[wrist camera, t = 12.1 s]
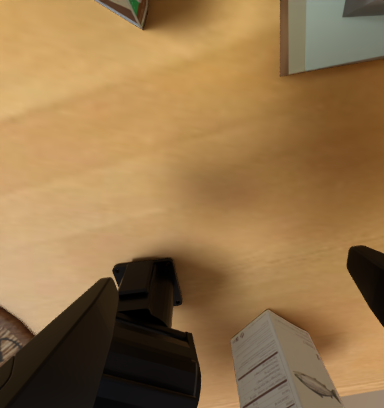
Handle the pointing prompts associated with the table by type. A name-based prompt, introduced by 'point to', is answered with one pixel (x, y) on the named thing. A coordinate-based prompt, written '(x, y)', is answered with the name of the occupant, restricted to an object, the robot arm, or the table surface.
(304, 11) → the sage slab
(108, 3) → the food container
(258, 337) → the supplement box
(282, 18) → the walnut slab
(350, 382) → the table surface
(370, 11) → the grey cube
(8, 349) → the trivet
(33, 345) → the robot arm
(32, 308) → the table surface
